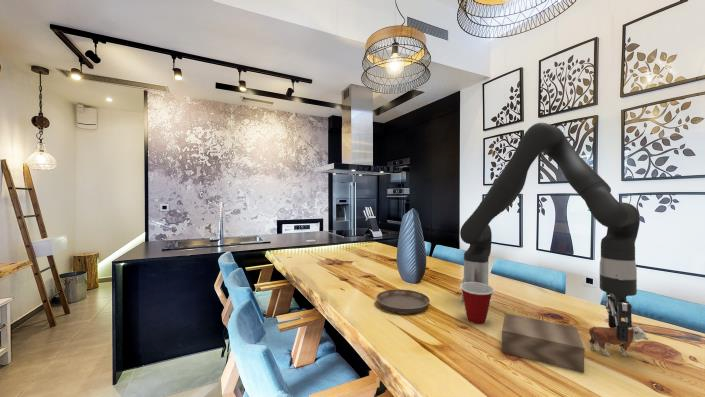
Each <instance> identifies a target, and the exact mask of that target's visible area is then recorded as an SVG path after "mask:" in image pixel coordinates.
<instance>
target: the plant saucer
mask: <svg viewBox="0 0 705 397" xmlns="http://www.w3.org/2000/svg"><path fill="white" fill-rule="evenodd" d="M375 298H376V300H377V302H378V304H379V305H380V307H382V308H383V309H384V310H387V311H389V312H392V313H397V314H405V315H407V314H409V315H411V314H417V313H420V312H422V311H423V310H424V309H426V308H427V307H428V306H429V304H430V302H431V299H430V298H429V297H428V296H427V295H426V294H425V293H422V292H419V291H416V290H411V289H398V288H397V289H388V290H384V291H382V292H379V293H378V294H377V295H376V297H375Z"/></svg>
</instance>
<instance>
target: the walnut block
mask: <svg viewBox="0 0 705 397" xmlns="http://www.w3.org/2000/svg"><path fill="white" fill-rule="evenodd" d="M501 353H503V354H508V355H509V354H510V355H513V356H516V357H520V358H525V359H528V360H532V361H536V362H541V363H543V364H547V365H551V366H554V367H555V366H556V367H559V368H563V369H568V370H571V371H575V372H579V373H582V374H585V355H586V354H585V346H584V343H583V340H582V338H581V335H580V333H579V330H578V328H577V326H574V325H569V324H564V323H563V324H562V323H557V322H552V321H549V320H548V321H547V320H542V319H537V318H532V317H528V316H526V317H525V316H521V315H516V314H511V313H504V318H503V322H502V328H501Z"/></svg>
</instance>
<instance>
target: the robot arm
mask: <svg viewBox="0 0 705 397" xmlns="http://www.w3.org/2000/svg"><path fill="white" fill-rule="evenodd" d="M541 153H542V154H544V155H546V156H547V157H549V158H550V159H552V160H553V162H554V163H556V165H558V167H559V168H560V170H561V171H562V174H563V175H564V179H565V180H566V182H568V183H569V185H570V186H571V188H572V189H573V190H574V191H575V192H576V193H577V195H579V197H580V198H582V200H583V201H584V202H585V204H586V206H587V208H588V210H589V211H590V214H591V215H592V217H594V219H595V220H596V221H597V222H598V223H599V224H601V225H602V226H604V227H606V228H607V229H606V235H605V236H604V237H603V238H601V240H600V260H599V289H600V290H601V291H602V292H604V293H605V309H606V312H607V315H608V316H607V318H608V321H607V322H608V324H607V325H608V328H615V327H616V338H617V339H618V340H620V341H625V342H627V341H628V328H632V327H633V323H632V320H633V319H632V307H633V305H632V304H631V303H630V302H629V301H628V299H627V297H633V296H636V295H637V293H638V292H637V290H638V288H637V287H638V286H637V285H638V284H637V282H638V279H637V278H638V277H637V275H638V274H637V273H638V272H637V270H638V269H637V263H636V240H637V238H638V233H639V229H640V223H641V217H640V212H639V210H638V209H637V207H636V206H635V205H633V204H631V203H628V202H622V201H621V202H620V201H618V200H617V199H616V198H615V197H614V195H613V194H612V193H611V192H612V188H611V187H610V185H609V184H608V183H607V182H606V181H605V179H603V177H601V175H599V173H597V172H596V171H595V170H594V169H593V168H592V167H591V166H590V165H589V164H588V163H587V162H586V161H585V160H584V159H583V157H581V156H580V155H579V154H578V152H577V151H576V150H575V149H574V147H573V146H572V145H571V143H570V141H569V140H568V138H567V137H566V135H565V133H564V132H563V130H561V129H560V128H559V127H558V126H555V125H552V124H550V123H546V122H537V123H535V124H533V125H531V126H530V127H529V128H528V129H527V130H526V131H525V133H524V134H523V136H522V137H521V139H520V141H519V143H518V145H517V147H516V149H515V151H514V153H513V154H512V156H511V158H510V159H509V161H508V162H507V163H506V165H505V167H504V168H503V170H502V171H501V172H500V174H499V175H498V177H497V178H496V179H495V181H494V182H493V184H492V185H491V186H490V188H489V190H488V192H486V194H485V196H484V197H483V199H482V200H481V201H480V203H479V205H478V206H477V207H476V208H475V210H474V211H473V212H472V213H471V215H470V216H469V217H467V219H466V220H465V222H464V223H463V224H462V226H461V227H460V231H459V235H460V239H461V240H462V241H463V242H464V243H465V244H468V245H469V247H468V248H467V249H466V251H464V253H463V278H462V283H465V282H478V283H483V284H486V285H489V258H490V255H491V253H492V252H491V251H492V238H493V237H492V236H493V234H492V229H491V227H490V223H491V222H492V221H493V219H495V218H496V217H497V216H498V215H500V214H501V213H502V212H504V211H505V210H507V209H508V207H510V206H511V205H512V204H513V203H514V202H515V200H516V199H517V198H518V196H519V195H520V194H521V192H522V190H523V189H524V187H525V184H526V180H527V176H528V172H529V170H530V168H531V166H532V164H533V163H534V161H535V160H536V159H537V157H538V156H539V155H540V154H541ZM461 294H462V301H461V302H462V303H464V297H463V292H462V291H461ZM622 319H624V321H623V320H622Z"/></svg>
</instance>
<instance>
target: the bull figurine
mask: <svg viewBox="0 0 705 397" xmlns="http://www.w3.org/2000/svg"><path fill="white" fill-rule="evenodd" d="M588 333H589V336H590V339H589V341H588V342H589V346H590V347H589V349H591V350H592V351H596V352H597V350H598V351H600V350H602V353H603V354H604V355H605V356H607V357H611V354H610V353H609V352H608V351H607V349H606V345H607V346H608V347H611V346H612V345H613V346H619V347H620V349H619V350H620V352H621V353H620V354H621V355H622V356H623V357H624V358H628V355H627V350H628V348H629V347H630V346H631V344H632V343H634V342H635V341H637V340H638V341H639V340H644V341H648V340H649V336H648V335H647V334H646V333H645V331H644V330H643V329H641V328H640V327H639V326H638V325H636V326H635V325H632V328H628V341H627V342H625V341H620V340H618V339H617V338H616V327H615V328H610V327H605V326H592V327H590V328H589V331H588ZM596 349H597V350H596Z"/></svg>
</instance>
